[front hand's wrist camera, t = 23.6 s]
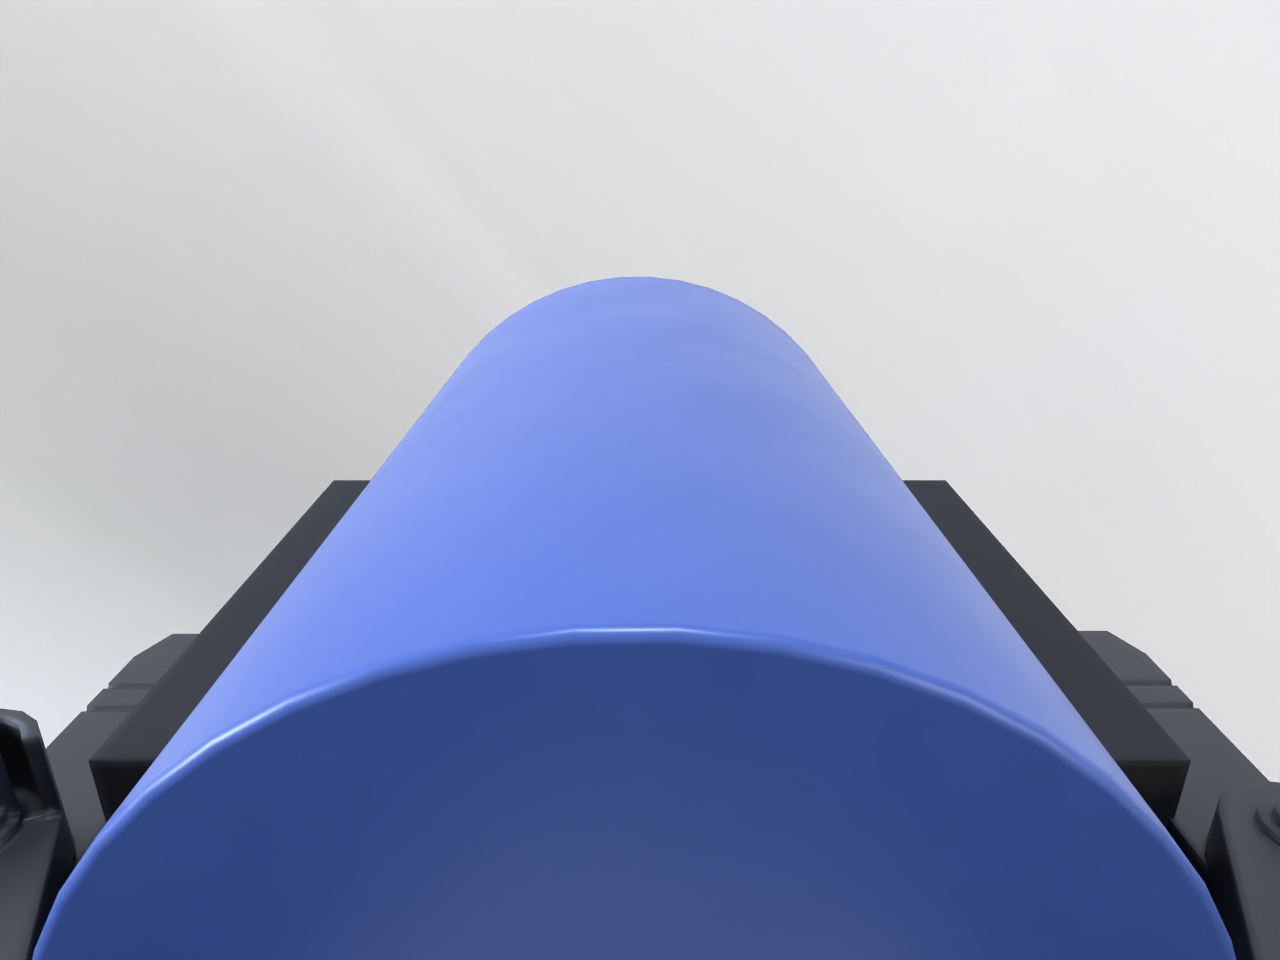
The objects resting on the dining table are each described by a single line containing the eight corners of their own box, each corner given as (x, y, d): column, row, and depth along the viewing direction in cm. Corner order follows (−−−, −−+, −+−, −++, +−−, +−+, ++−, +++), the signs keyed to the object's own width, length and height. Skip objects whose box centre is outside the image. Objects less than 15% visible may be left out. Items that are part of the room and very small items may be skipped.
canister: (726, 723, 19) (846, 1537, 8) (367, 577, 17) (-82, 1312, 6) (931, 395, 16) (1545, 943, 5) (525, 194, 15) (206, 366, 4)
